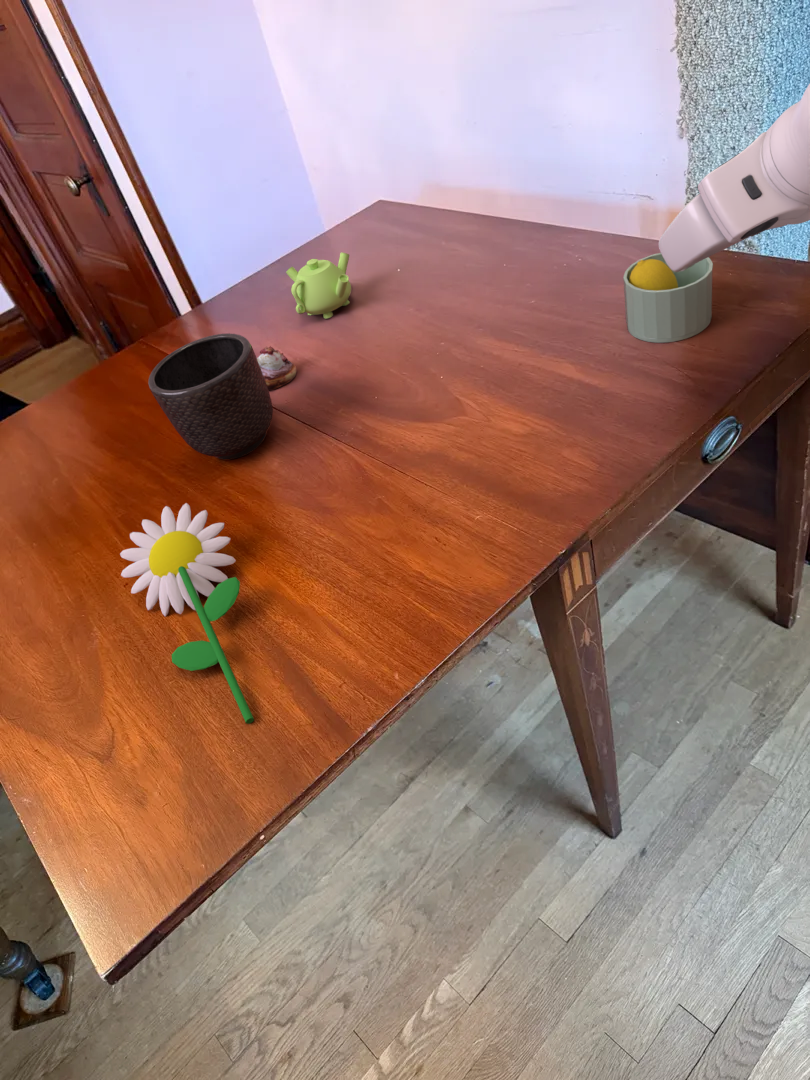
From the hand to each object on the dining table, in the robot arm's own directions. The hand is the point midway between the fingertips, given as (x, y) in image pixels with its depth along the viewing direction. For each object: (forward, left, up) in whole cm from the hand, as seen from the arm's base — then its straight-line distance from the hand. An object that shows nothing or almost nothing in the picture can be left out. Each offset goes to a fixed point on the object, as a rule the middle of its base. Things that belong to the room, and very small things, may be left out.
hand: (717, 246), depth 82 cm
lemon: (+9, -2, -12) cm, 15 cm away
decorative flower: (+9, +67, -13) cm, 69 cm away
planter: (+38, +50, -13) cm, 64 cm away
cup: (+9, -2, -13) cm, 16 cm away
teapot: (+61, +21, -13) cm, 66 cm away
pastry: (+49, +39, -13) cm, 64 cm away
